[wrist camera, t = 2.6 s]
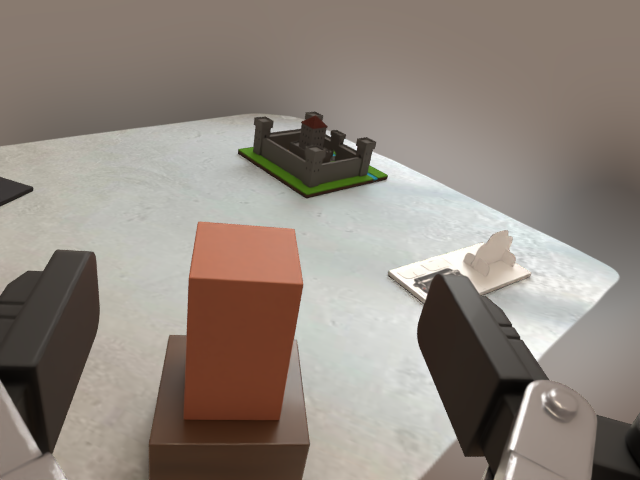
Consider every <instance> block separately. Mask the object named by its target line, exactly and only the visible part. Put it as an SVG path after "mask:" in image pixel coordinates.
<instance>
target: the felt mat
mask: <svg viewBox="0 0 640 480" xmlns="http://www.w3.org/2000/svg"><path fill="white" fill-rule="evenodd" d="M31 191H33V187H31V186H28V185H25V184H21V183H18V182H15V181H12V180H8V179H5V178H2V177H0V206H1V205H3V204H5V203H7V202H9V201H12V200H14V199H16V198H18V197H20V196H22V195H24V194H26V193H29V192H31Z"/></svg>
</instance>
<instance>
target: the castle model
mask: <svg viewBox="0 0 640 480" xmlns="http://www.w3.org/2000/svg"><path fill="white" fill-rule="evenodd" d="M305 119H306V120H304V121H302V122H301V123H302V126H301V129H299V130H298V129H296V130H294V131H293V130H289V131H288V130H287V131H281V132H276V133H275V132H273V133H270V130H271V128H273V121H272V120H271V119H269V118H267V117H266V116H265V117H262V118H261V117H256V118H255V119H254V125H255V126H256V127H255V137H254V147H250V148H243V149H238V153H239V154H240V155H242V156H243V157H245V158H246V159H248V160H249V161H251V162H252V163H254V164H255V165H257V166H258V167H260V168H261V169H263V170H264V171H266V172H267V173H269V174H270V175H272V176H274V177H275V178H277V179H278V180H280V181H281V182H283V183H284V184H286V185H287V186H289V187H290V188H292V189H293V190H295V191H296V192H298V193H299V194H301V195H302V196H304V197H305V198H309V197H313V196H317V195H321V194H326V193H330V192H334V191H338V190H343V189H347V188H351V187H355V186H359V185H364V184H368V183H372V182H376V181H381V180H385V179H387V177H388V175H387V174H385V173H383V172H381V171H379V170H377V169H375V168H374V167H372V166H370V165H369V164H370V160H371V155H372V151H373V149H375V146H376V142H375V141H372V140H371V139H369V138H367V137H366V138H359V139H357V143H356V146H358V147H357V151H356V150H354V149H353V148H350V147H349V146H347V145H344V144H343V142H344V139H345V137H346V134H344V133H341V132H339V131H338V130H332V131H331V134H330V135H331V137H330V136H328V135H326V134H325V133H326V128H327V126H326V125H325V124H324V123H323V122H322V119H323V115H321V114H319V113H317V112H306V115H305Z"/></svg>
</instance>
